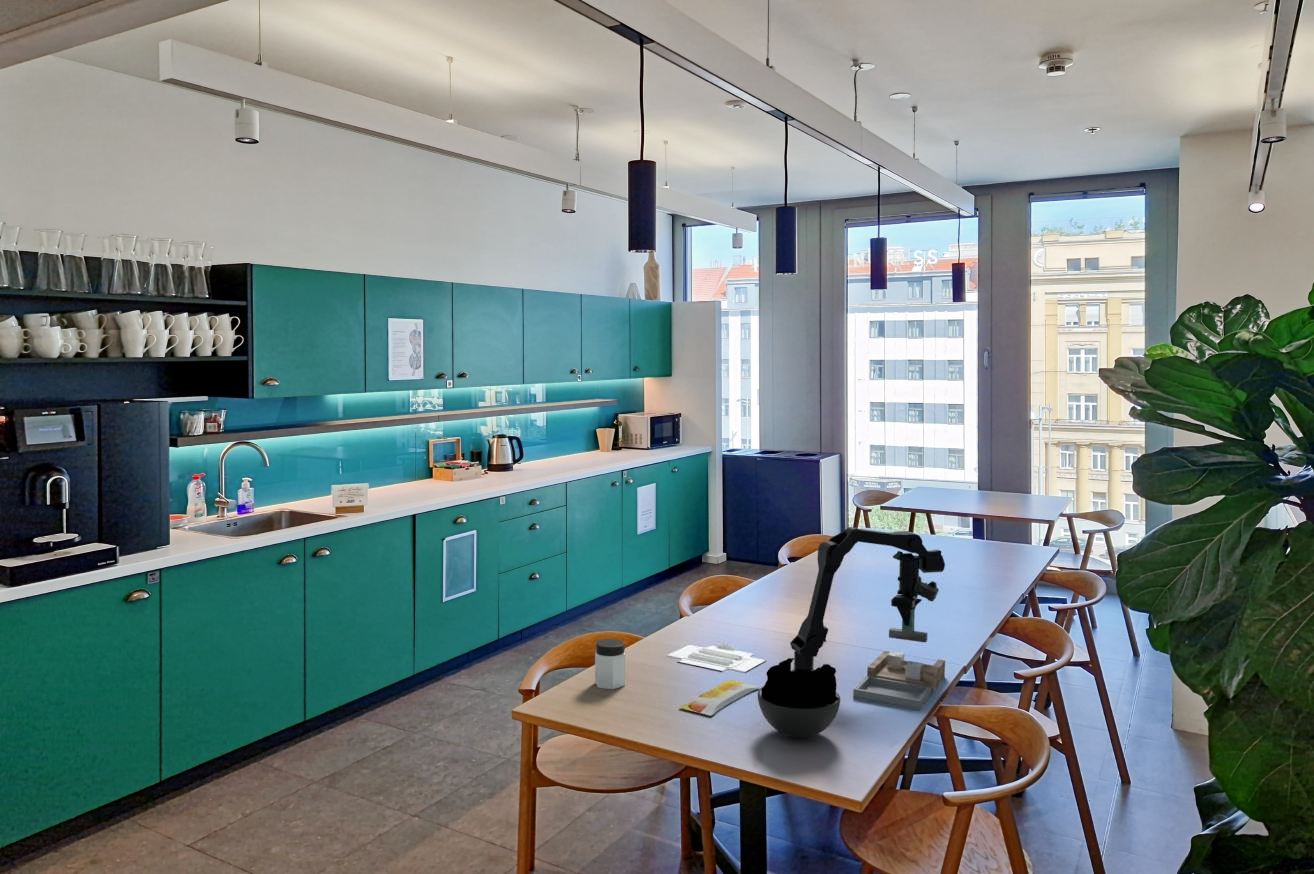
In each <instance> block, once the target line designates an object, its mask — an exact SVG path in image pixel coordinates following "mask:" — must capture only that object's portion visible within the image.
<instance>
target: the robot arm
mask: <svg viewBox="0 0 1314 874" xmlns="http://www.w3.org/2000/svg"><path fill="white" fill-rule="evenodd" d="M857 543H866V544H873V545H882V546H889V547H894V548H895V549H899V550H897V552H896V553H895V554H894V555H892V559H895V560H896V561H899V571H898V573H899V575H898V576H897V581H898V590H897V594H896V595H895V596H894V597H893V598H891V600H890V602H891V603H890V606H891V607H894V608H895V607H896V609H897V610H898V613H899V614H900V617H901V620H902V619H903V622H904V624H905V626H909V623H910V618H911V612H912V609H913V608H915V609H916V608H917V606H918V604H920V603H921V602H922V601H923V599H921V598H918V596H920V597H922V598H924V599H926V600H927V601H929V602H934V601H935V600H936V598H937V595H938V594H939V591H940V589H939V588H938V586H937V585H938V584H937V582H935V581H934V580H933V581H932V580H931V581H930V582H929V583H928V582H924V581H922V577H921V575H920V571H921V573H922V574H928V573H929V574H931V573H943V572H944V570H945V567H946V562H945V560H944V556H943V554H942V550H940V549H931V550H927V548H926V547H925V545H924V543H923V539H922V538H921V536H920V535H919V534H916V533H914V532H911V531H907V530H902V531H892V532H891V531H890V532H885V531H881V530H880V531H878V530H872V529H871V530H870V529H865V528H864V529H863V528H857V527H854V526H849V527H847V528H846V529H844V530H843V531H841V532H840V533H837V534H836V535H833V536H832V537H830V538H829V539H828V540H825V541H822V542H821V543H819V546H818V547H817V558H816V559H817V567H818V572H817V576H816V581H815V584H814V589H813V592H812V597H811V601H810V606H809V608H808V609H809V610H808V614H807V616H806V618H805V619H804V620H803V621H802V623H801V625H800V628H799V629H798V632H797V635H796V636H795V637H794V638H792V640H791V641H790V647H791V650H793V651H794V653H793V656H794V657H793V658H794V660H793V669H791V671H795V670H797V669H806V670H810V671H814V670H815V669H814V662H815V661H814V659H815V657H816V658H817V656H818V653H819V650H820V649H821V648H822V647H823V646H824V643H827V634H828V632H829V628H828V627H826V626H825V625H824V619H825V613H826V609H827V606H828V601H829V598H830V592H831V589H832V585H833V580H834V576H835V574H836V573H837V571H838V570H839V569H840V567H841V565H842V563H843V560H844V559H845V556H846V555H847V554H849V552H851V550H852V549H853V548H854V547H855V545H857ZM900 550H902V551H900ZM903 551H905V552H903ZM914 554H916V555H914Z"/></svg>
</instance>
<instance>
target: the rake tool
mask: <svg viewBox="0 0 1314 874" xmlns="http://www.w3.org/2000/svg"><path fill="white" fill-rule="evenodd" d="M915 610H916V608H913V609H912V612H911V618H910V623H909V626H905V624H904V622H903V619H902V618H901V628H895V627H890V628H889V629H888V638H889V639H897V640H904V641H911V642H912V641H913V642H919V643H927V642H928V632H927V631H924V632H923V631H918V630H917V631H916V630H915V616H916V615H915Z"/></svg>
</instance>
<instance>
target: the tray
mask: <svg viewBox="0 0 1314 874" xmlns="http://www.w3.org/2000/svg"><path fill="white" fill-rule="evenodd" d="M753 656H755V655H754V653H750V652H746V651H739V650H737V649H736V648H735V647H734V646H732V644H729V643H726V642H724V641H718V642H717V644H716V645H715V646H714V645H709V646H707V647H702V646H701V647H700V646H697V645H696V646H695V645H692V644H688V645H686V646H684V647H682V648H679V649H677V650H675V651H673V652H670V653H669V654H667V655H666V657H669V658H673V659H677V660H678V659H679V660H678V661H677V663H679V662H680V663H683V664H688V665H693V666H698V667H703V668H707V669H712V670H716V671H721V672H722V673H723V672H725V671H727V670H728V671H734V672H739V673H743V674H745V673H746V672H747V671H750V670H751V669H753V668H755V667H756V666H758V665H761V664H762V663H764V662H766V661H767V659H763V658H761V659H760V658H756V657H753Z"/></svg>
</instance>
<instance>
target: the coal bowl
mask: <svg viewBox="0 0 1314 874" xmlns="http://www.w3.org/2000/svg"><path fill="white" fill-rule="evenodd" d="M792 662H794V657H793V658H792V657H789V658H787V659H785V660H782V661H781V662H780V661H779V663H778V664H776V665H773V666H771V667H769V669H768V670H767V671H766V678H767V679H766V681H765V684H764V685H763V686H762V687H759V688H758V692H757V701H758V706H759V708H760V711H761V713H762V715H763V717H764V719H765V720H766V721H767V723H769V725H770V726H771V727H772V728H773V729H775V730H776V731H778V732H779V733H781V734H782V735H785V736H788V737H790V738H791V737H792V738H795V739H796V738H797V739H802V738H803V739H805V738H809V737H813V736H816V735H819V734H820V733H822V732H823V731H825V730H826V729H827V728H829V726H831V724H832V723H833V722H834V720H835V719H836V716H837V714H838V712H839V709H840V706H841V696H840V695H839V693H838V692H837V678H836V672H837V669H836V668H835V667H833V666H832V665H831V664H829V663H824V664H822V666H819V667H817V668H816V669H814V671H810V670H806V669H797V670H795V671H792Z"/></svg>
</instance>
